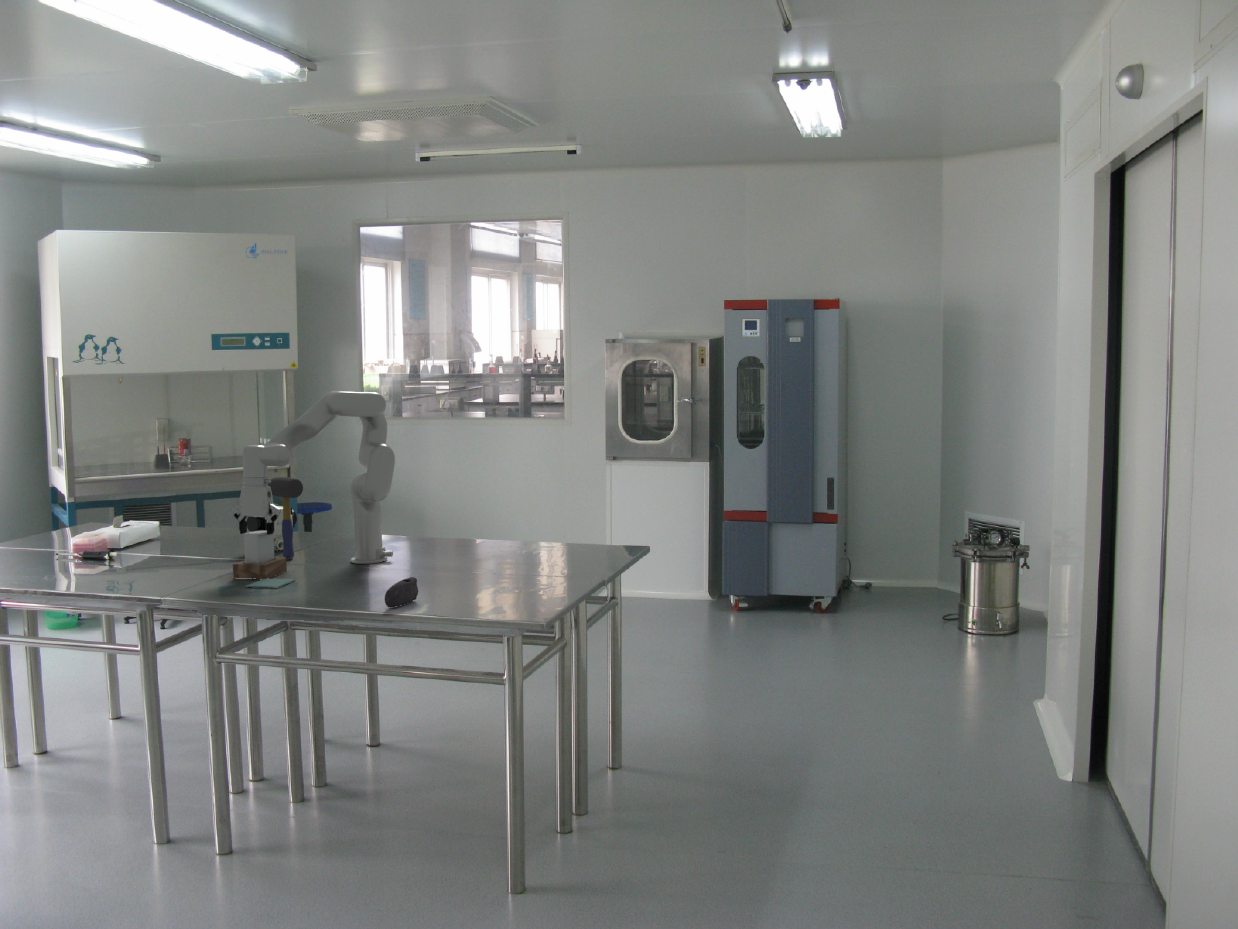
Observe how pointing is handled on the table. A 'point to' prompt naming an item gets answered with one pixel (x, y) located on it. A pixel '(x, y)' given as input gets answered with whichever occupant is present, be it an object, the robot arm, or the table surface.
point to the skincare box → (258, 547)
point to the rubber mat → (270, 583)
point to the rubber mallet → (286, 508)
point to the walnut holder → (260, 569)
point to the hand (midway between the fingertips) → (256, 533)
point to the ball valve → (261, 525)
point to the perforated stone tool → (402, 592)
